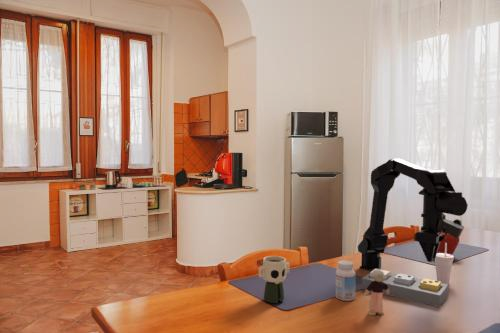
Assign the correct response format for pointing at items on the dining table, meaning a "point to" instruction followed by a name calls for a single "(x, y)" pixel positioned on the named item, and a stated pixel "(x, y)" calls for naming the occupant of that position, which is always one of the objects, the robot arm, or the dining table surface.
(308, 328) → the dining table surface
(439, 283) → the button three
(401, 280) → the button two
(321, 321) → the dining table surface
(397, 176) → the robot arm
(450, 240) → the apple
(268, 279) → the character mug
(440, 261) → the smoothie
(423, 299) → the button panel
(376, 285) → the grandmother figurine
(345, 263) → the pill bottle
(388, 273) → the button one
